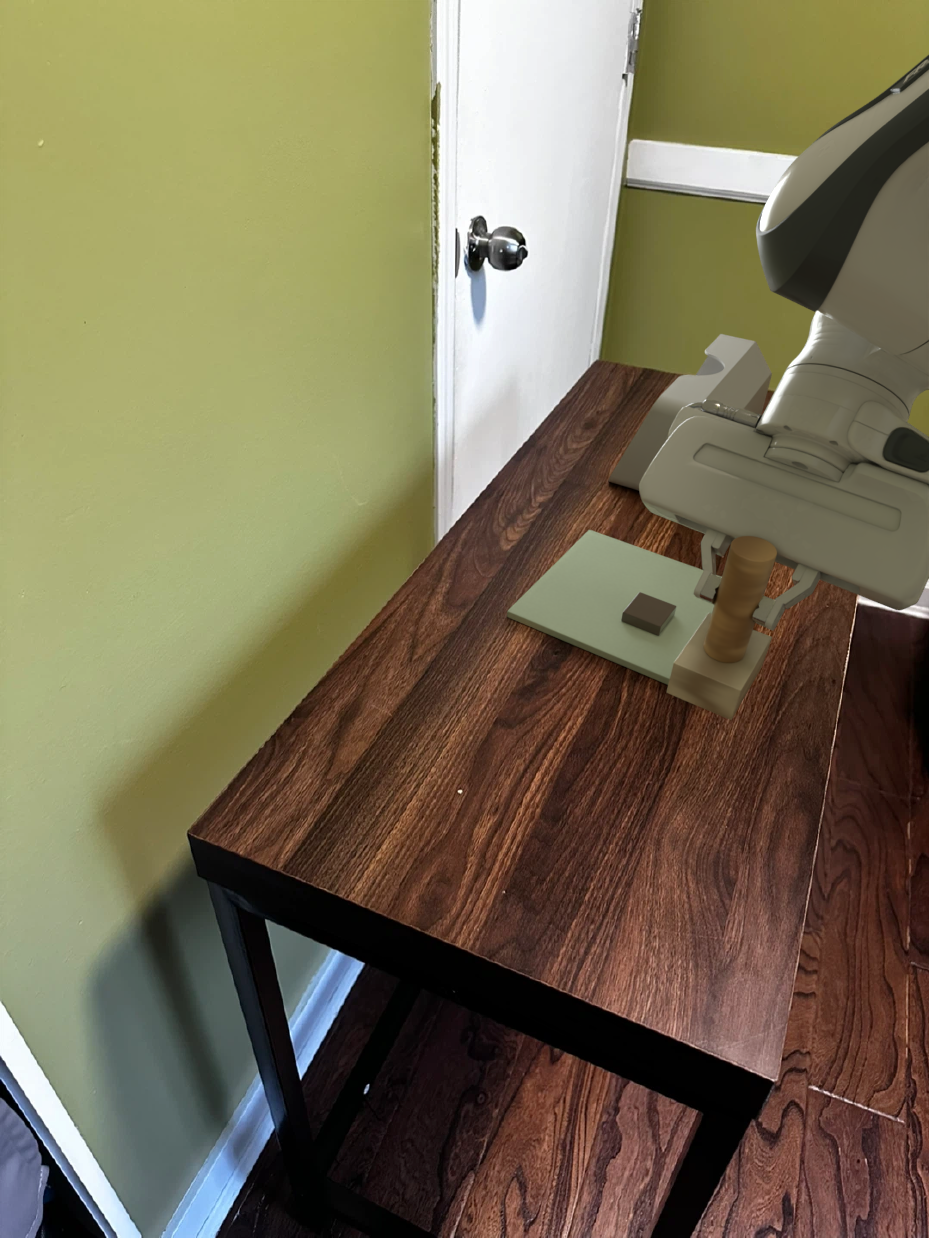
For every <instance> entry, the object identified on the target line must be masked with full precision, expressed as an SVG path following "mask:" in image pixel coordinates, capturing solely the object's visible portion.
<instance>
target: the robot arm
mask: <svg viewBox="0 0 929 1238" xmlns="http://www.w3.org/2000/svg"><path fill="white" fill-rule="evenodd" d="M755 235H756V245H757V251H758V255H759V260H760V265H761V268H762V271H763V274H764V278H765V280H766V283H767V286H768V288H769V290H770V292H771V293H774V294H776V295H779V296H780V297H783V298H784V299H787V300H789V301H791V302H792V303H795V304H797V305H799V306H801V307H804V308H805V309H808V310H810V311H811V312H813V313H814V312H815V313H814V314H813V317H812V319H811V323H810V326H809V332H808V335H807V336H808V337H807V339H806V343H805V344H804V347H803V348H802V350H801V351H800V352H799V353H798V354H797V356H796V357H795V358H794V359H792V361H791V362H790V363H789V364H788V366H787V367H786V369H785V371H784V373H783V374H782V376H781V378H780V380H779V382H778V384H777V386H776V388H775V389H774V392H773V394H772V395H771V398H770V399H769V401H768V403H767V406H766V408H765V410H764V411H763V412H762V414H761V415H760V414H757V413H754V412H750V411H747V410H744V409H740V408H734V407H730V406H727V405H724V404H723V403H721V402H719V401H716V400H710V399H706V400H705V401H704V402H696V403H692V404H689V405H687V406H685V407H683V408H682V409H681V410H680V411H679V412H678V414H677V416H676V418H675V420H674V422H673V424H672V426H671V427H670V430H669V433H668V438H667V441H666V442H665V443H664V445H663V446H662V448H661V449H660V450H659V452H658V453H657V455H656V456H655V458H654V459H653V461H652V462H651V464H650V466H649V467H648V469H647V471H646V472H645V474H644V476H643V477H642V479H641V481H640V484H639V490H638V491H639V496H640V500H641V502H642V503H643V505H644V507H645V508H646V509H647V510H648V511H649V512H650V513H652V514H653V515H656V516H659V517H661V518H663V519H666V520H669V521H671V522H673V523H676V524H679V525H682V526H684V527H685V528H689V529H691V530H693V531H697V532H699V533H701V534H704V535H703V537H702V539H701V541H700V552H701V553H700V554H701V567H702V569H701V570H703V573H702V575H701V577H700V579H699V581H698V583H697V585H696V587H695V589H694V595H695V596H696V597H697V598H699V599H701V600H704V601H706V602H708V603H711V604H713V605H714V604H715V600H716V597H717V593H718V589H719V586H720V582H721V577H722V576H721V577H718V576H719V575H718V576H716V575H717V562H716V561H717V560H716V555H717V556H719V557H724V556H725V555H726V552H727V551H728V550H729V548H730V546H731V543H732V541H733V540H734V539H736V538H738V537H741V536H754V537H759V538H762V539H764V540H767V541H768V542H770V543H771V544H772V545H774V547H775V548H776V550H777V556H776V559H775V562H774V563H777V564H779V565H782V566H784V567H786V568H789V569H792V570H793V574H792V575H791V579H792V583H793V586H792V587H790V588H789V589H787V590H786V591H784V592H783V593H781V594H780V595H779V596H777V597H775V598H774V599H773V598H771V597H768V596H766V595H764V596H763V597H762V599H761V600H760V602H759V603H758V604H759V608H757V609H756V610H755V611H754V613H753V616H752V620H753V622H754V623H755V624H757V625H759V626H761V627H762V628H764V629H768V630H769V631H772V632H774V631H775V629H776V628H777V626H778V624H779V622H780V620H781V618H782V617H783V614H784V613H785V611H786V610H789V609H791V608H792V607H794V606H795V605H797V604H798V603H800V602H801V601H804V600H805V599H807V598H808V597H810V596H811V595H813V594H814V591H815V589H816V587H817V585H818V584H819V582H820V581H822V582H824V583H827V584H829V585H832V586H835V587H837V588H840V589H842V590H845V591H847V592H849V593H852V594H854V595H857V596H860V597H862V598H865V599H867V600H870V601H872V602H875V603H877V604H880V605H883V606H884V607H887V608H890V609H892V610H894V611H903V610H906V609H908V608H910V607H912V606H915V605H917V604H918V602H919V601H920V599H921V597H922V595H923V592H924V590H925V588H926V586H927V583H928V582H929V435H928V434H926V433H924V432H922V431H921V430H919V429H918V428H917V427H915V425H913V424H911V423H909V422H908V421H909V419H910V416H911V412H912V408H913V405H914V402H915V401H916V399H917V398H918V397H919V396H920V395H921V394H922V393H924V392H925V391H929V54H927V55H926V56H925V57H923V59H922V60H921V61H919V62H918V63H917V64H915V65H914V66H913V67H912V68H910V70H909V71H907V72H905V73H904V75H902V76H901V77H900V78H898V80H896V81H895V82H893V84H891V85H890V86H888V88H886V89H885V90H884V91H883V92H881V93H880V94H879V95H876V97H874V98H873V99H871V100H870V101H869V102H867V103H866V104H864V105H863V106H861V107H860V108H858V109H857V110H855V111H853V112H852V113H851V114H849V115H847V116H846V117H844V118H843V119H841V120H840V121H838V122H837V123H835V124H834V125H832V126H831V127H830V128H829V129H827V130H826V131H825V132H824V133H822V134H821V135H820V136H819V137H818V138H816V139H815V140H814V141H813V142H812V143H811V144H810V145H809V146H808V147H806V149H805V150H804V151H802V152H801V153H800V154H799V155H797V157H796V158H795V159H794V161H792V162H791V163H790V165H789V166H788V167H787V168H786V170H785V171H784V172H783V174H782V175H781V176H780V178H779V180H778V181H777V182H776V183H775V186H774V187H773V189H772V191H771V193H770V195H769V197H768V198H767V201H766V203H765V204H764V206H763V208H762V209H761V212H760V213H759V216H758V220H757V223H756V227H755ZM694 408H701V411H700V410H697V409H694Z"/></svg>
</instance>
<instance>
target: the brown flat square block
mask: <svg viewBox="0 0 929 1238" xmlns="http://www.w3.org/2000/svg"><path fill="white" fill-rule="evenodd" d="M675 611H676V605H673V604H670V603H668V602H665V601H662V600H660V599H657V598H655V597H652V596H649V595H647V594H644V593H641V592H639V593H638V594H637V596H636V597H635V598H634V599H633V600H632V602H631V603H630V604H629V605H628V606H627V608H626V609H625V610H624V611H623V613H622V619H621V621H622V622H625V623H627V624H630V625H632V626H635V627H637V628H640V629H642V630H645V631H647V632H650V633H652V634H655V635H657V636H659V635H660V634H661V632H662V631H663V630H664V628H665V627H666V626H667V624H668V623H669V622H670V620H671V619H672V618H673V616H674V615H675Z"/></svg>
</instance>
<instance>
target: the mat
mask: <svg viewBox="0 0 929 1238" xmlns="http://www.w3.org/2000/svg"><path fill="white" fill-rule="evenodd" d="M702 573H703V569H701V568H698V567H696V566H693V565H690V564H688V563H684V562H681V561H679V560H676V559H673V558H671V557H667V556H665V555H662V554H659V553H657V552H654V551H651V550H648V549H645V548H643V547H639V546H638V545H637V546H636V545H634V544H631V543H628V542H626V541H623V540H620V539H617V538H614V537H611V536H609V535H605V534H604V533H600V532H597V531H595V530H592V529H587V531H586V532H585V533H584V534H583V535H582V536H581V537H580V538H579V539H578V540H577V541H576V542H575V543H574V544H573V545H572V546H571V547H570V548H569V549H567V551H566V552H565V553H564V554H563V555H562V556H561V557H560V558H559V559H558V560H557V561H556V562H555V563H553V565H552V566H551V567H549V569H548V570H546V572H545V573H543V575H541V577H540V578H539V579H538V580H536V582H535V583H534V584H532V586H530V588H529V589H528V590H527V591H526V592H524V594H523V595H522V596H520V598H518V600H516V602H515V603H514V604H513V605H512V606H511V607H510V608H509V609H508V610H507V611H506V617H507V618H509V619H511V620H514V621H516V622H518V623H520V624H523V625H525V626H528V627H530V628H532V629H535V630H537V631H539V632H541V633H544V634H546V635H549V636H551V637H553V638H556V639H558V640H561V641H563V642H565V643H568V644H570V645H572V646H574V647H577V648H579V649H582V650H584V651H587V652H589V653H591V654H593V655H596V656H597V657H598V656H599V657H601V658H604V659H606V660H608V661H611V662H613V663H615V664H617V665H619V666H621V667H625V668H627V669H630V670H632V671H634V672H636V673H639V674H641V675H644V676H646V677H648V678H649V679H653V680H655V681H658V682H660V683H662V684H665V685H667V686H668V684H669V680H670V676H671V672H672V668H673V664H674V662H675V660H676V659H677V657H678V656H679V655H680V653H681V652H682V650H683V649H684V647H685V646H686V644H687V643H688V642H689V640H690V639H691V637H692V636H693V634H694V633H695V632H696V630H697V629H698V627H699V626H700V624H701V623H702V621H703V620H704V619H705V617H706V616H707V614H708V613H711V614H712V611H713V607H714V605H713V604H711V603H708V602H706V601H704V600H701V599H699V598H697V597H696V596H695V595H694V589H695V587H696V585H697V583H698V581H699V579H700V577H701V575H702ZM716 576H718V577H721V578H722V575H718V574H716ZM639 592H641V593H644V594H647V595H649V596H652V597H655V598H657V599H660V600H662V601H665V602H668V603H670V604H673V605H676V611H675V615H674V616H673V618H672V619H671V620H670V622H669V623H668V624H667V626H666V627H665V628H664V630H663V631H662V632H661V634H660V635H659V636H657V635H655V634H652V633H650V632H647V631H645V630H642V629H640V628H637V627H635V626H632V625H630V624H627V623H625V622H622V621H621V619H622V613H623V611H624V610H625V609H626V608H627V606H628V605H629V604H630V603H631V602H632V600H633V599H634V598H635V597H636V596H637V594H638V593H639Z"/></svg>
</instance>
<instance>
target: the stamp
mask: <svg viewBox="0 0 929 1238" xmlns="http://www.w3.org/2000/svg"><path fill="white" fill-rule="evenodd" d="M776 556H777V550H776V548H775V547H774V545H772V544H771V543H770V542H768V541H767V540H764V539H762V538H759V537H754V536H741V537H738V538H736V539H734V540H733V541H732V543H731V544H730V545H729V548H728V553H727V556H726V559H725V560H726V561H725V563H724V568H723V570H722V574H721V577H722V578H721V582H720V586H719V589H718V593H717V597H716V600H715V604H714V607H713V611H712V614H711V613H708V614H707V616H706V617H705V619H704V620H703V621H702V623H701V624H700V626H699V627H698V629H697V630H696V632H695V633H694V634H693V636H692V637H691V639H690V640H689V642H688V643H687V644H686V646H685V647H684V649H683V650H682V652H681V653H680V655H679V656H678V657H677V659H676V660H675V662H674V664H673V668H672V672H671V676H670V680H669V684H668V685H667V688H666V693H667V694H669V695H671V696H673V697H676V698H678V699H680V700H682V701H685V702H687V703H689V704H692V705H693V706H697V707H699V708H701V709H703V710H705V711H708V712H710V713H713V714H715V715H717V716H720V717H722V718H725V719H726V720H729V721H732V720H733V719H734V717H735V715H736V713H737V712H738V710H739V708H740V706H741V704H742V703H743V702H744V699H745V697H746V696H747V694H748V692H749V691H750V688H751V687H752V685H753V684H754V681H755V680H756V679H757V676H758V675H759V673H760V671H761V670H762V668H763V666H764V663H765V660H766V657H767V654H768V651H769V648H770V644H771V642H772V639H773V637H772V636H771V635H768V634H766V633H763V632H761V631H758V630H755V629H754V628H755V625H756V623H754V622H753V620H752V616H753V613H754V611H755V610H756V609H757V608H759V604H758V603H759V602H760V600H761V599H762V597H763V596H765V593H766V590H767V587H768V584H769V581H770V577H771V575H772V571H773V568H774V565H775V563H776V562H775V559H776Z"/></svg>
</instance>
